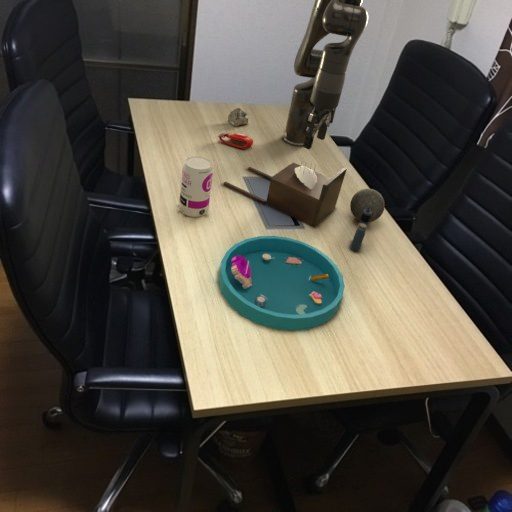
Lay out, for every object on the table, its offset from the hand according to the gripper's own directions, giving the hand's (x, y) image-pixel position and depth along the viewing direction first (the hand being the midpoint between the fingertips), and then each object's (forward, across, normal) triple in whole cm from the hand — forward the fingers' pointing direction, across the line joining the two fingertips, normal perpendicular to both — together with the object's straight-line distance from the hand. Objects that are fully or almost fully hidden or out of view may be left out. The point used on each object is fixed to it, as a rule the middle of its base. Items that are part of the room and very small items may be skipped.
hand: (313, 143), depth 142 cm
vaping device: (+21, -7, -22) cm, 31 cm away
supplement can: (+21, -25, +20) cm, 39 cm away
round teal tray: (+20, -36, -14) cm, 44 cm away
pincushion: (+12, 0, 0) cm, 12 cm away
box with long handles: (+21, 0, +7) cm, 22 cm away
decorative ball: (+21, +8, -18) cm, 29 cm away
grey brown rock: (+21, +34, +45) cm, 60 cm away
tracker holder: (+21, +20, +37) cm, 47 cm away
